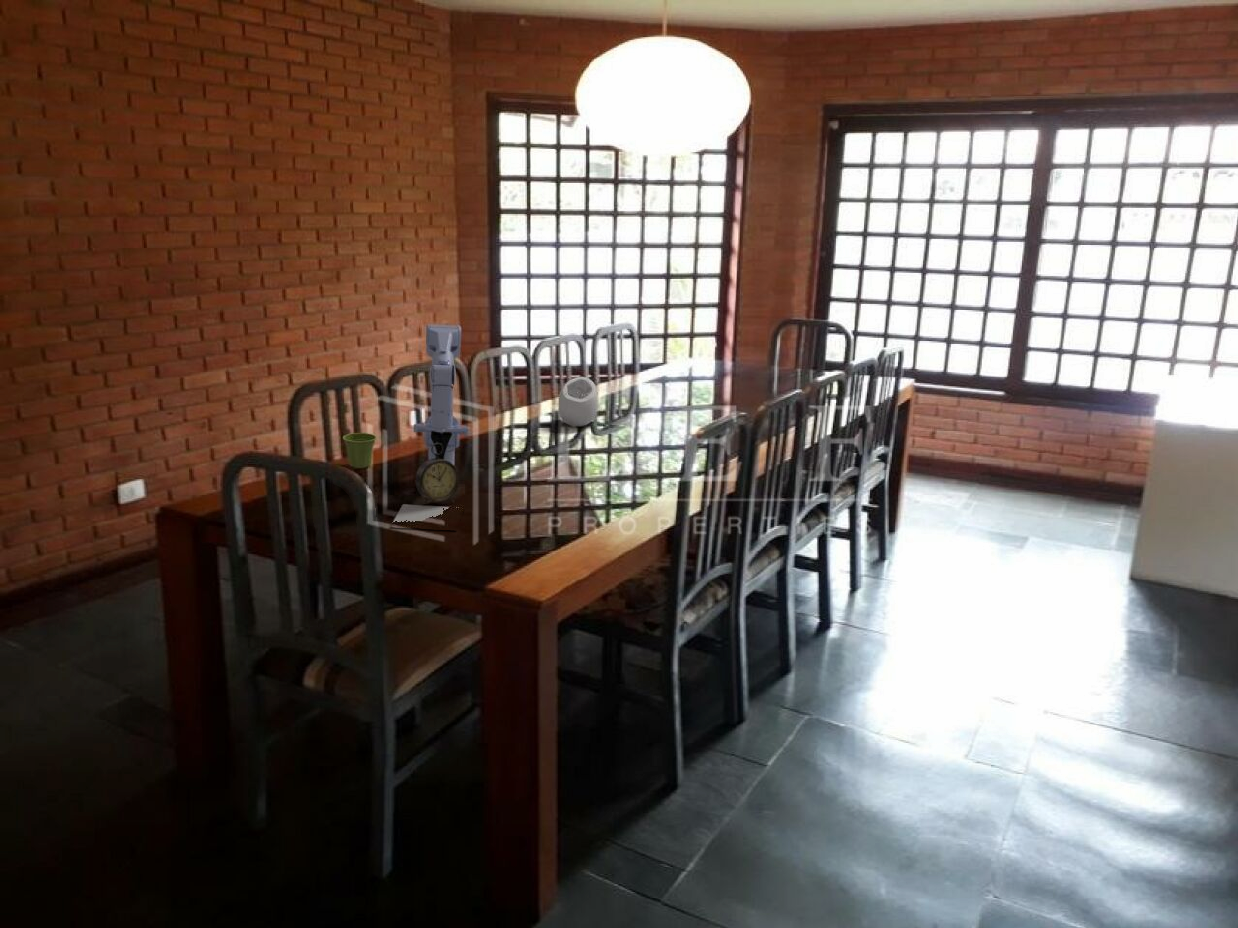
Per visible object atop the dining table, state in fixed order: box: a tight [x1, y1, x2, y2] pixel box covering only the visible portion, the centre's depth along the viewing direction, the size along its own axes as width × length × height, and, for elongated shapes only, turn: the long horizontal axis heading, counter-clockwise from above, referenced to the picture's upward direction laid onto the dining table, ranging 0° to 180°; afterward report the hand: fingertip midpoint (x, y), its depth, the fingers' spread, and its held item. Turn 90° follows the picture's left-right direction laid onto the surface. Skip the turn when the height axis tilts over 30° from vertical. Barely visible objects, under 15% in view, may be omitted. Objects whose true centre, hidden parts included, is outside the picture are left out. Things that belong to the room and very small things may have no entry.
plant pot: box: [342, 432, 377, 469], centre depth 275 cm, size 9×9×9 cm
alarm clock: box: [414, 443, 460, 506], centre depth 248 cm, size 11×5×16 cm, turn 126°
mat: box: [392, 503, 457, 523], centre depth 239 cm, size 16×16×1 cm
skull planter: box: [558, 376, 599, 429], centre depth 340 cm, size 14×20×19 cm
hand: (441, 459), depth 254 cm, fingers closed
